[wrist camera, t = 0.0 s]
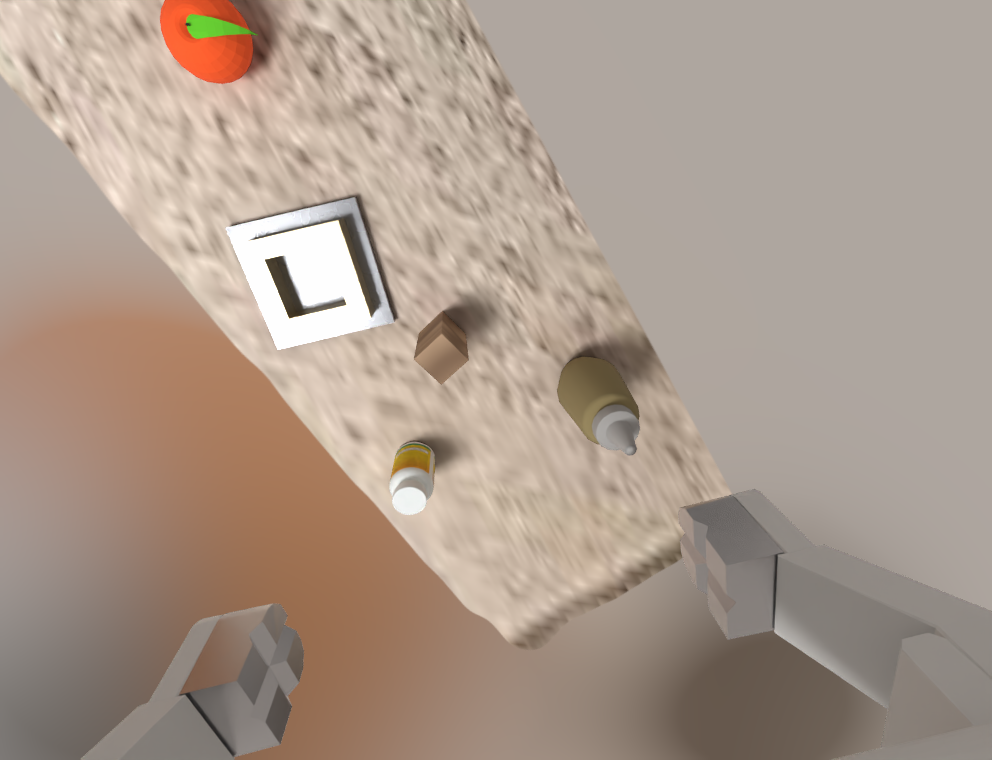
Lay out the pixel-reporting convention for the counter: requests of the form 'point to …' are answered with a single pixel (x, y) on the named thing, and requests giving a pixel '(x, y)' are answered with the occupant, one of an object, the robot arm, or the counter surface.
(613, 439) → the squeeze bottle
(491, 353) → the counter surface
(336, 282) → the collar
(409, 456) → the supplement bottle
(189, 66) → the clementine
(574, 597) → the counter surface
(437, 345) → the peg
